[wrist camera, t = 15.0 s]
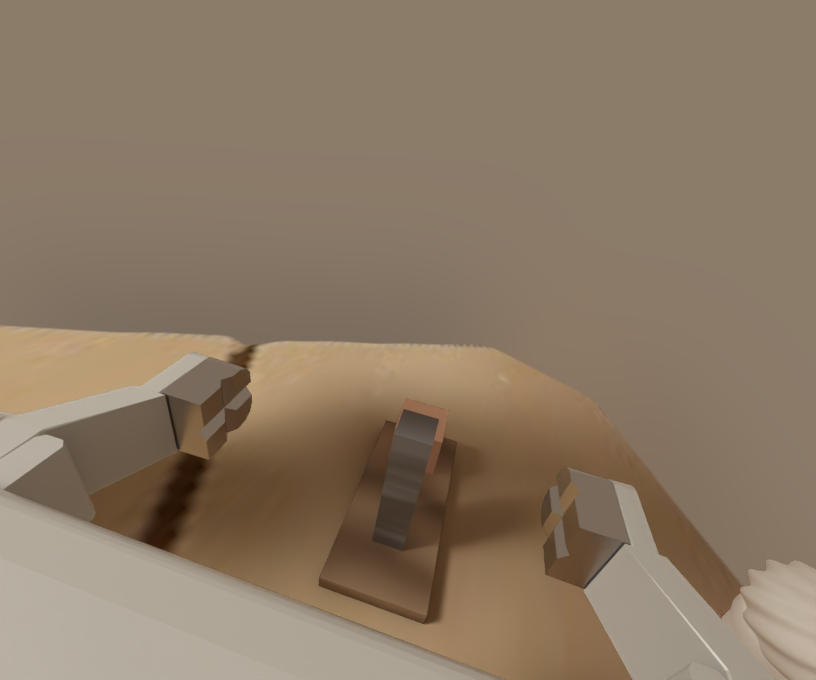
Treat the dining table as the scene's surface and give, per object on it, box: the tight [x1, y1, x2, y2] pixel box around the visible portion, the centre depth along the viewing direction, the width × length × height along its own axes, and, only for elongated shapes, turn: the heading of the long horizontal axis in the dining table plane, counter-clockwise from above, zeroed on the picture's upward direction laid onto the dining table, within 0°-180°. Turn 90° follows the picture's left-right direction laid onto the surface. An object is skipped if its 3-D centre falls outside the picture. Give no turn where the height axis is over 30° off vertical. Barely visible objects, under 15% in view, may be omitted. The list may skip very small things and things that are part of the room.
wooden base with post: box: [319, 409, 457, 624], centre depth 31 cm, size 17×8×13 cm, turn 167°
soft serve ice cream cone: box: [721, 559, 816, 680], centre depth 21 cm, size 8×8×16 cm
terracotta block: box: [388, 398, 449, 475], centre depth 37 cm, size 4×4×4 cm
